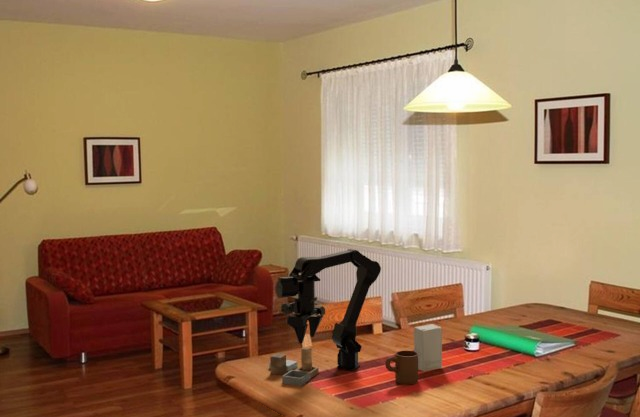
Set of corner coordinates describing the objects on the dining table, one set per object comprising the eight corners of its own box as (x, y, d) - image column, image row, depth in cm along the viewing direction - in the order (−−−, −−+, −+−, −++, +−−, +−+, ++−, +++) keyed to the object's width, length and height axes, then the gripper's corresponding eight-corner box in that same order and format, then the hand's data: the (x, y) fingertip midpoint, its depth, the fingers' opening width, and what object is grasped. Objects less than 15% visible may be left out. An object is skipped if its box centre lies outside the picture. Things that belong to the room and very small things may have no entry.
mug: (391, 388, 221) (391, 359, 220) (379, 381, 227) (379, 353, 227) (422, 382, 226) (423, 354, 225) (409, 376, 233) (409, 349, 232)
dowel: (313, 373, 236) (313, 347, 236) (309, 376, 233) (308, 350, 232) (304, 372, 238) (303, 346, 237) (300, 375, 234) (299, 349, 234)
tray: (310, 379, 230) (310, 372, 230) (301, 386, 224) (301, 378, 223) (291, 377, 233) (291, 369, 233) (282, 383, 226) (282, 376, 226)
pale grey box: (297, 368, 244) (297, 361, 243) (288, 373, 239) (288, 366, 238) (278, 364, 248) (278, 358, 248) (269, 369, 243) (269, 362, 242)
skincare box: (432, 364, 246) (433, 323, 245) (442, 368, 240) (443, 327, 239) (413, 367, 242) (413, 326, 241) (422, 372, 237) (423, 329, 235)
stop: (286, 371, 239) (286, 354, 238) (280, 374, 235) (280, 357, 235) (276, 370, 240) (275, 353, 240) (270, 373, 237) (270, 356, 236)
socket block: (318, 373, 237) (318, 367, 237) (311, 378, 231) (311, 372, 231) (302, 370, 239) (302, 365, 239) (295, 375, 234) (295, 370, 234)
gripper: (297, 288, 245) (297, 331, 246) (272, 298, 228) (272, 344, 229) (325, 290, 240) (326, 334, 242) (302, 301, 223) (302, 348, 225)
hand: (306, 340), depth 234 cm, fingers open, 9 cm apart
